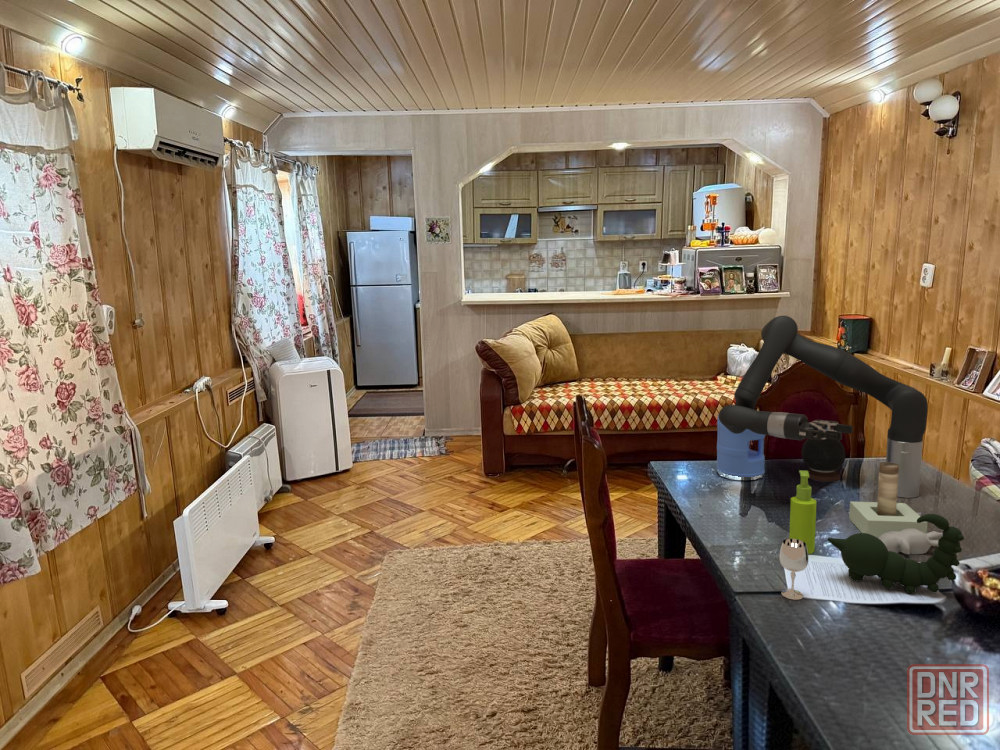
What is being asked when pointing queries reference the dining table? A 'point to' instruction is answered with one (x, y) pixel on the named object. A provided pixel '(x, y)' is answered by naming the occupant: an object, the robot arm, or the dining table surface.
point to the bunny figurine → (909, 541)
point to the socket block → (883, 519)
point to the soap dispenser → (803, 514)
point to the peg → (887, 489)
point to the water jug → (739, 453)
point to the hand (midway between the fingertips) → (847, 432)
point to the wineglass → (793, 563)
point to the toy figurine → (901, 558)
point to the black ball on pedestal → (823, 458)
